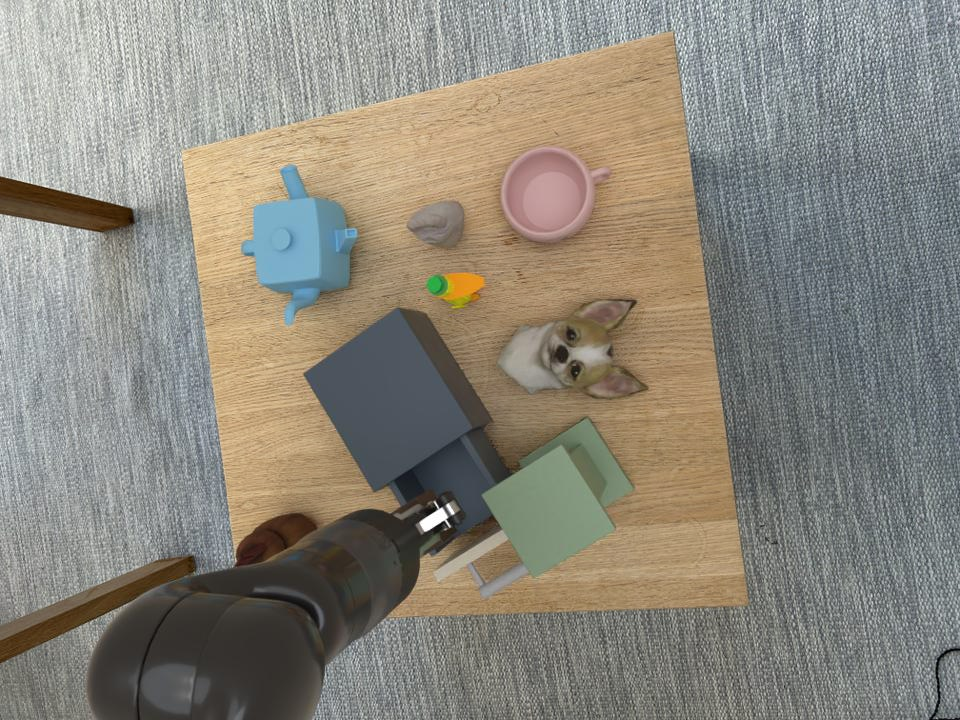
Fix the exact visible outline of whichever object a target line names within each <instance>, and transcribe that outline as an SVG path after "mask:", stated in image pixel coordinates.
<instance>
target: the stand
mask: <svg viewBox="0 0 960 720" xmlns="http://www.w3.org/2000/svg"><path fill="white" fill-rule="evenodd" d="M517 462H518V464H519V465H520V468H521V469H519V470H517V471H516V472H515V473H512V474H511V476H510V477H508V478H506V479H505V480H503V481H502V482H500V483H499V484H497V485H495V486H494V487H492V488H491V489H489V490H487V491H486V492H484V493H483V494H482V495H481V496H482V497H483V499H484V500H485V502H486V504H487V505H488V507H489V509H490V510H491V512H492V513H493V517H494V518H495V520H496V522H497V523H498V525H500V526H501V528H502V530H503V531H504V533H505V534H506V536H507V538H508V539H509V540H508V541H509V543H510V544H511V545H512V547H513V549H514V551H515V552H516V554H517V555H518V557H519V559H520V560H521V562H523V564H524V565H525V567H526V568H527V570H528V572H529V575H530V577H531V579H536V578H537V577H539V576H540V575H543V574H545V573H546V572H548V571H549V570H551V569H553V568H554V567H556V566H558V565H559V564H561V563H563V562H565V561H566V560H567V559H569V558H571V557H573V556H574V555H576V554H577V553H580V552H581V551H583V550H585V549H586V548H588V547H589V546H591V545H593V544H594V543H597V542H598V541H600V540H602V539H603V538H605V537H607V536H608V535H610V534H612V533H614V532H615V531H616V530H617V525H616V523H615V522H614V521H613V519H612V517H611V516H610V514H609V512H607V510H606V508H607V507H608V506H610V505H611V504H613V503H615V502H616V501H618V500H619V499H622V498H623V497H625V496H627V495H628V494H630V493H632V492H633V491H634V490H635V488H636V487H635V485H634V484H633V482H632V481H631V479H630V477H629V476H628V475H627V473H626V472H625V470H624V469H623V467H622V465H621V464H620V462H619V461H618V459H617V458H616V456H615V455H614V453H613V452H612V450H611V449H610V447H609V445H608V444H607V442H606V441H605V439H604V438H603V436H602V434H601V433H600V431H599V430H598V428H597V427H596V425H595V424H594V422H593V421H592V419H591V418H590V416H586V417H585V418H584V419H582V420H580V421H579V422H577V423H575V424H574V425H573V426H571V427H569V428H567V429H566V430H565V431H563V432H562V433H560V434H558V435H557V436H555V437H553V438H552V439H551V440H549V441H547V442H545V443H544V444H543V445H541V446H539V447H538V448H536V449H535V450H533V451H532V452H530V453H527V455H525V456H524V457H522V458H521V459H519V460H518V461H517Z"/></svg>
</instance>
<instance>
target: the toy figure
mask: <svg viewBox="0 0 960 720" xmlns="http://www.w3.org/2000/svg"><path fill="white" fill-rule="evenodd" d="M485 286H486V280H485V277H484V276H481V275H478V274H476V273H470V272H453V273H452V272H451V273H446V274H434V275H432V276H431V277H430V278H428V279H427V281H426V288H427V290H428V292H429V293H430V294H431V295H432V296H433V297H434V298H437V299H442V300H445V301H446V302H447V304H452V306H451V310H459V309H464V308H467V307H468V305H466V304H468V303H474V302H477V301H478V300H480V294H477V292H479V291H480V290H481V289H482V288H483V287H485Z"/></svg>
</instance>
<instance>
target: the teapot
mask: <svg viewBox="0 0 960 720" xmlns="http://www.w3.org/2000/svg"><path fill="white" fill-rule="evenodd" d="M279 173H280V176H281V179H282V181H283V184H284V186H285V189H286V192H287V194H288V197H289V199H286V200H285V199H284V200H277V201H270V202H264V203H259V204H256V205H255V204H254V206H253V214H252V233H253V235H252V237H253V239H248V240H247V239H246V240H244V241H242V242H241V245H240V251H241V254H242V255H243V256H246V257H252V258H254V261H255V270H256V275H257V281H258V283H259V285H260V286H263V287H264V288H266V289H267V290H269V291H272V292H275V293H277V294H282V295H292V298H291V300H289V302H287V304H286V306H285V309H284V314H283V318H284V323H285V325H286V326H287V327H290V326H292V324H293V323H294V320H295V316H296V314H297V312H299V311H300V310H303V309H306V308H309V307H311V306H312V305H314V304H315V303H316V302H317V301H318V299H319V298H320V295H321V292H329V291H336V290H341V289H345V288H348V287H349V285H350V280H351V251H352V249H353V247H354V245H355V243H356V242H357V240H358V238H359V235H358V228H357V227H353V228H348V227H349V226H348V221H347V215H346V213H345V212H346V211H345V209H344V208H343V206H342V205H341V204H340V203H339V202H337V201H334V200H330V199H327V198H320V197H310V196H309V194H308V191H307V189H306V187H305V184H304V182H303V180H302V177H301V174H300V172H299V170H298V168H297V166H296V164H288V165H284V166H283V167H281V168H280V170H279Z"/></svg>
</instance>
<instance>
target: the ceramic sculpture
mask: <svg viewBox="0 0 960 720" xmlns="http://www.w3.org/2000/svg"><path fill="white" fill-rule="evenodd" d="M638 302H639V301H638V299H623V298H605V299H604V298H603V299H602V298H601V299H600V298H597V299H595V300H593V301H590V302H586V303H582V305H580V306H578V308H576V309H575V310H574V311H573V313H572V314H571V316H570V317H569V318H566V319H564V320H559V321H558V320H556V321H554V320H551V321H549V322H548V323H544V324H542V325H533V324H528V323H523V324H520V326H519V327H518V329H517V330H516V332H515V333H514V334H513V335H512V337H511V339H510V340H509V341H508V343H507V344H506V345H505V346H504V347H503V349H502V350H501V352H500V354H499V356H498V357H497V359H496V366H497V367H498V368H499V369H500V370H501V371H502V372H503V373H504V374H505V375H506V376H508V377H509V378H511V379H512V380H513V381H514V382H516V383H517V385H519V386H521V388H522V389H523V390H525V392H526V393H528V394H529V395H535V394H537V393H539V392H541V391H543V390H545V389H552V390H558V391H560V390H566V389H570V388H572V389H573V388H574V389H579V390H580V391H581V392H583V394H585V395H586V396H589V397H591V398H593V399H595V400H600V399H601V400H609V401H613V400H615V399H621V398H624V397H628V396H629V397H630V396H632V395H635V394H637V393H642V392H645V391H648V390H649V389H650V387H649V386H648V385H647V384H645V383H644V382H642V381H640V380H639V379H638V378H637V377H636V376H635V375H634V374H632V372H631V371H630V370H629V369H627V368H625V367H620V366H619V367H617V366H612V364H613V359H614V347H613V343H612V340H611V337H610V334H609V332H608V331H611V330H613V329H618V328H619V327H620V326H621V325H622V324H623V323H624V322H625V320H626V318H627V316H629V314H630V312H631V311H632V309H633V308H635V306H636V305H637V304H638Z"/></svg>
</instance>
